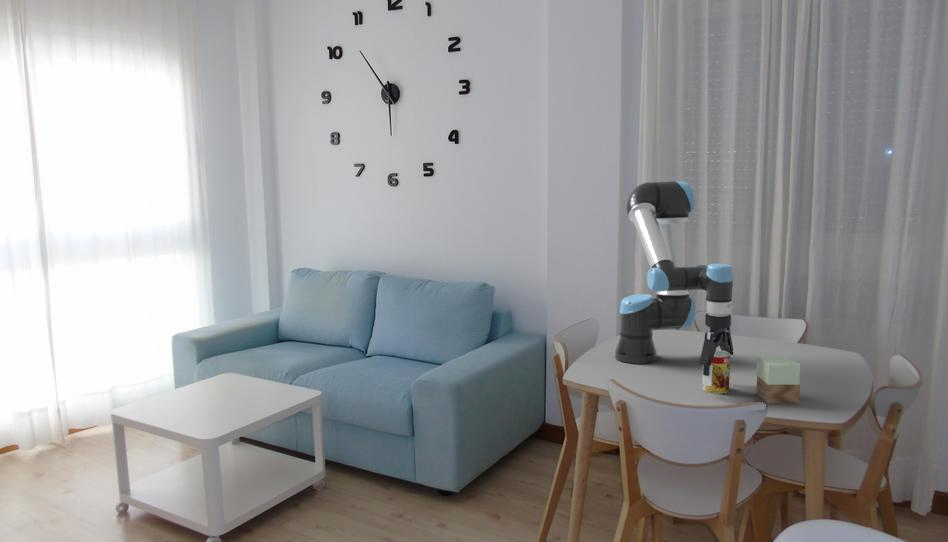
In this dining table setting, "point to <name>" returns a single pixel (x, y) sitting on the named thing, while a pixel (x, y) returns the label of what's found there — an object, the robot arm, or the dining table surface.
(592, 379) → the dining table surface
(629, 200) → the robot arm
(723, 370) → the canned food
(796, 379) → the sage block
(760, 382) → the walnut block
